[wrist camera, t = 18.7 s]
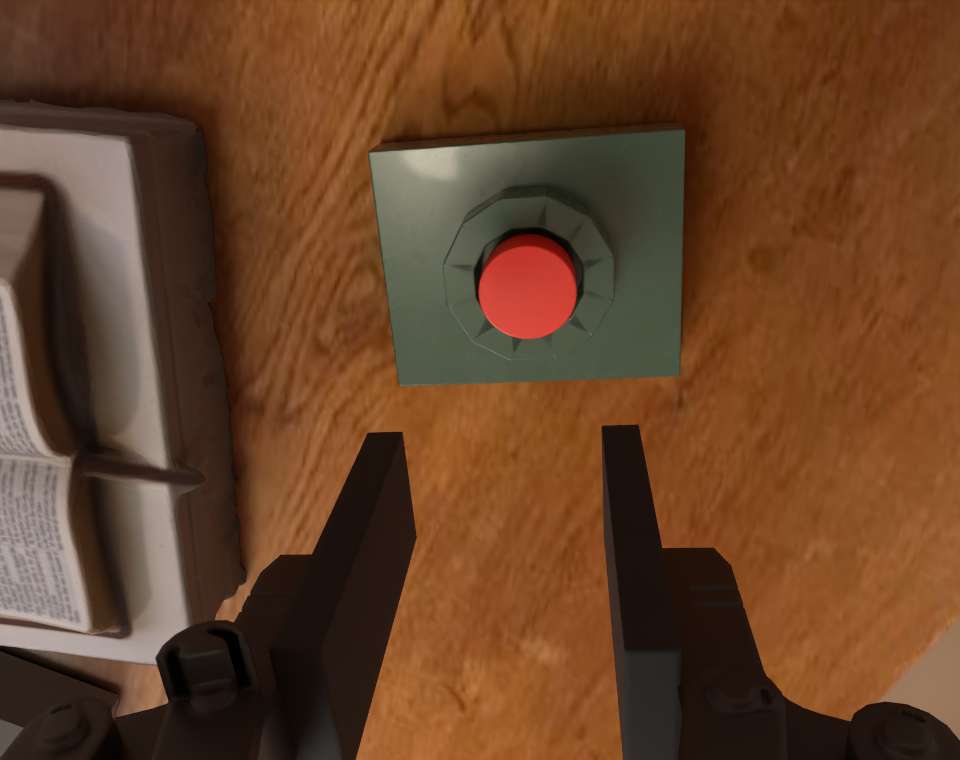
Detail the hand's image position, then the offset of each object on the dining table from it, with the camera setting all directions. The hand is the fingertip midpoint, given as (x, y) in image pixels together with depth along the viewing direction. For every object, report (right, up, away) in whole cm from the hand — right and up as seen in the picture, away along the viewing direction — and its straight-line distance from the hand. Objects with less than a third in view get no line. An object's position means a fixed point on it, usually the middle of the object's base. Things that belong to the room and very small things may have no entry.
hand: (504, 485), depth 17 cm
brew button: (+1, +6, +14) cm, 15 cm away
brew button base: (+2, +8, +17) cm, 19 cm away
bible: (-22, +3, +21) cm, 31 cm away
